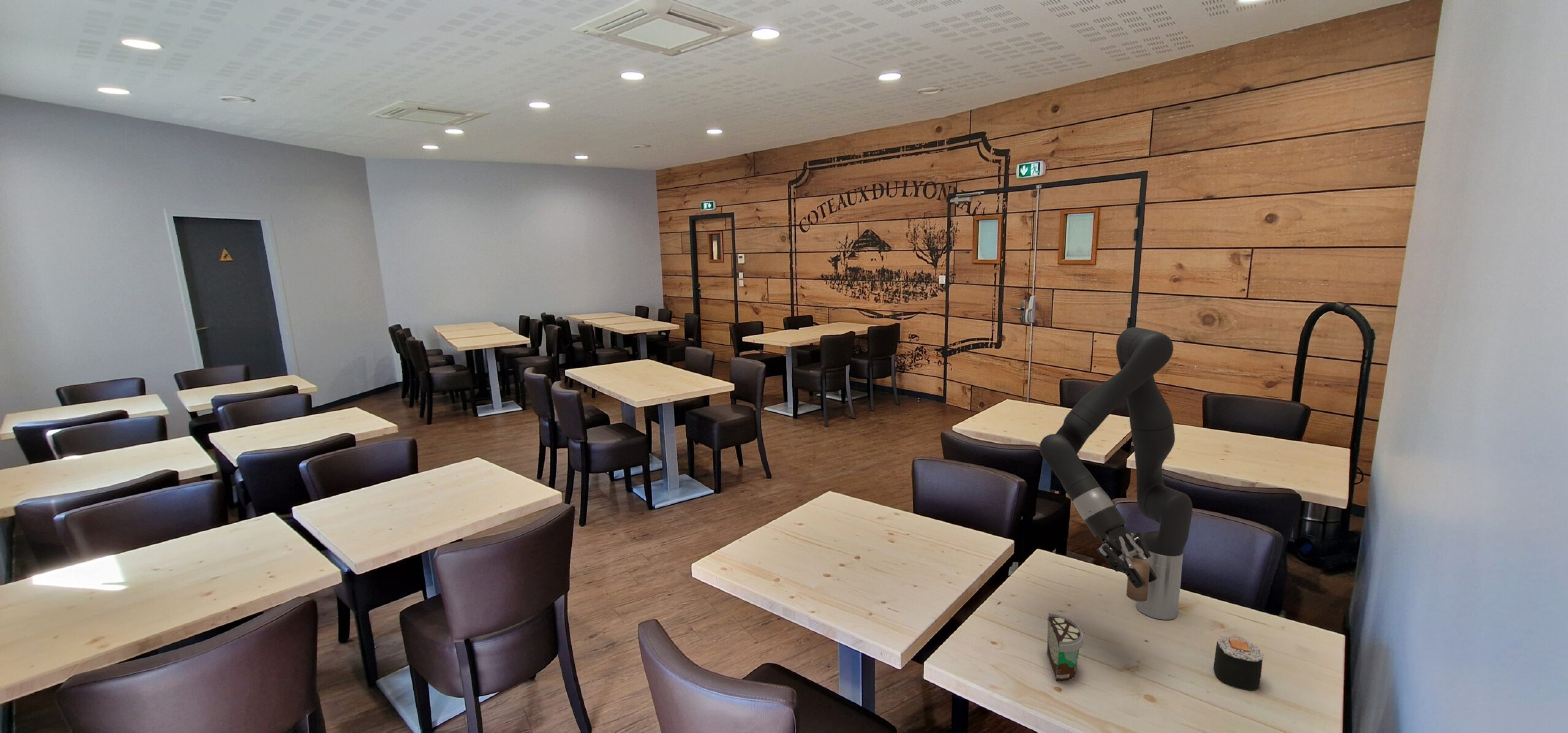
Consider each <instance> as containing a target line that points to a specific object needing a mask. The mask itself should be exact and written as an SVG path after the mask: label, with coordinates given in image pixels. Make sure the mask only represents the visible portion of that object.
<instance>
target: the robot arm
mask: <svg viewBox="0 0 1568 733" xmlns="http://www.w3.org/2000/svg"><path fill="white" fill-rule="evenodd" d="M1115 351H1116V352H1115V353H1116V358H1117V361H1118V365H1119V368H1120V370H1119V371H1118V372H1117V373H1115V374H1114V375H1113V376H1112V377H1111V378H1109V379H1107V380H1106V381H1105V382H1103V383H1101V384H1100V385H1098V386H1096V387H1095V388H1093V389H1091V390H1089V392H1087V393H1086V394H1085V395H1083V397H1080V399H1079V401H1078V402H1077V403H1076V404H1075V405H1074V406H1073V407H1072V409H1071V410H1070V411H1069V412H1068V413H1067V415H1066V416H1065V418H1064V419H1063V424H1062V425H1061V426H1060V428H1058V430H1057V432H1055V433H1049V434H1047V435H1046V436H1044V437H1043V438H1041V439H1042V440H1041V441H1040V444H1039V453H1040V455H1041V457H1042V458H1043V460H1044V461H1045V462H1046V464H1047V465H1048V467H1049V468H1050V469H1051V471H1052V472H1053V473H1054V474H1055V476H1056V477H1057V479H1059V480H1058V481H1059V482H1060V484H1061V485H1062V487H1063V489H1064V491H1065V492H1066V494H1067V495H1068V497H1069V498H1070V500H1071V501H1072V503H1073V504H1074V506H1075V509H1076V511H1077V512H1078V514H1079V516H1080V517H1081V518H1082V520H1083V521H1084V523H1085V524H1086V526H1087V528H1088V529H1089V530H1090V532H1091V533H1092V535H1093V537H1094V538H1099V539H1100V541H1101V546H1100V547H1099V548H1096V553H1097V554H1098V555H1099V556H1100V557H1101V558H1102V559H1103V560H1104V561H1105V563H1107V564H1108V565H1109V566H1110V567H1111V568H1112V569H1113V570H1114V571H1115V572H1117V573H1118V572H1122V573H1124V574H1125V576H1126V577H1127V579H1128V578H1129V580H1130V581H1131V583H1132V584H1133V585H1134V586H1135V587H1136V588H1139V587H1141V586H1143V585H1145V583H1144V581H1143V580H1142V578H1141V577H1140V575H1139V574H1138V572H1137V571H1136V569H1135V568H1133V565H1132V563H1131V561H1130V559H1142V560H1145V561H1147V562H1148V563H1149V564H1150V571H1149V583H1148V595H1147V600H1146V601H1143V602H1139V601H1135V607H1136V608H1137V610H1138V611H1139V612H1140V613H1142V614H1144V615H1145V616H1148V617H1150V618H1153V619H1156V620H1157V619H1158V620H1165V621H1166V620H1167V621H1168V620H1174V619H1176V618H1177V616H1178V611H1179V603H1180V602H1179V601H1180V593H1181V584H1182V571H1183V570H1182V569H1183V558H1184V550H1185V546H1186V544H1187V543H1188V540H1189V533H1190V528H1191V523H1192V517H1193V502H1192V500H1191V498H1190V496H1189V495H1188V494H1187V493H1184V492H1183V491H1179V490H1176V489H1174V488H1171V487H1169V486H1167V485H1165V482H1164V477H1163V465H1164V462H1165V460H1166V459H1167V457H1168V456H1169V454H1170V453H1171V451H1172V450H1173V447H1174V446H1175V442H1176V434H1175V427H1174V426H1175V425H1174V419H1173V418H1174V417H1173V414H1172V411H1171V409H1170V407H1169V405H1168V403H1167V401H1166V399H1165V398H1164V396H1163V395H1162V393H1161V390H1160V389H1159V387H1158V385H1157V383H1156V380H1155V377H1154V375H1155V374H1157V373H1158V372H1159V371H1160V370H1161V369H1162V368H1164V366H1166V364H1167V363H1169V361H1170V360H1171V357H1172V356H1173V352H1174V344H1173V341H1172V339H1171V338H1170V336H1168V335H1166V334H1165V333H1163V332H1160V331H1155V330H1152V329H1147V328H1142V327H1135V326H1134V327H1133V326H1132V327H1128V328H1126V329H1125V330H1123V331H1122V332H1121V333H1120V334H1119V335H1118V338H1117V341H1116V345H1115ZM1124 400H1126V403H1127V404H1126V405H1127V410H1128V416H1129V417H1128V418H1129V424H1130V425H1129V426H1130V433H1131V438H1132V443H1133V444H1132V445H1133V450H1134V462H1135V469H1136V470H1135V473H1136V474H1135V475H1136V477H1135V478H1136V502H1137V507H1138V509H1139V511H1140V513H1141V514H1142V515H1143V516H1145V517H1146V518H1148V519H1149V520H1152V521H1154V522H1156V523H1158V524H1159V529H1158V530H1151V531H1150V530H1149V531H1146V532H1144V533H1143V534H1142V533H1141V532H1140V531H1136V532H1133V533H1132V532H1131V531H1130V530H1128V529H1127V528H1126V527H1125V524H1126V523H1127V521H1126V520H1125V518H1124V517H1123V515H1122V514H1121V512H1120V511H1119V509H1118V508H1117V506H1116V505H1115V503H1114V502H1113V501H1112V499H1111V498H1110V496H1109V495H1108V493H1106V491H1105V490H1104V489H1103V488H1102V487H1101V486H1100V484H1099V483H1098V481H1097V480H1096V478H1095V477H1094V475H1092V473H1091V472H1090V471H1089V470H1088V469H1087V467H1086V466H1085V464H1084V463H1083V462H1082V460H1081V459H1080V456H1079V455H1078V454H1079V452H1080V451H1081V449H1082V447H1083V446H1084V444H1086V441H1087V440H1088V439H1089V438H1090V436H1091V435H1092V434H1093V433H1094V432H1096V430H1097V429H1098V428H1099V427H1100V426H1101V424H1103V422H1104V421H1105V420H1106V418H1108V416H1109V415H1110V414H1111V413H1112V412H1113V411H1114V410H1115V409H1116V408H1117V407H1118V406H1119V405H1120V404H1121V403H1122V402H1123V401H1124Z"/></svg>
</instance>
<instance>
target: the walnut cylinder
mask: <svg viewBox="0 0 1568 733" xmlns="http://www.w3.org/2000/svg"><path fill="white" fill-rule="evenodd" d="M1130 561H1131V563H1132V565H1133V568H1135V569H1136V571H1137V572H1138V574H1139V575H1140V577H1141V578H1142V580H1143V581H1144V583H1145V585H1143V586H1141V587H1139V588H1136V587H1135V586H1134V585H1133V584H1132V583H1131V581H1130V580H1129V578H1128V577H1127V580H1126V593H1125V594H1126V597H1127V598H1129V599H1130V600H1133V601H1134V602H1136V601H1139V602H1143V601H1146V600H1147V595H1148V583H1149V571H1150V564H1149V563H1148V562H1147V561H1145V560H1142V559H1131V558H1130Z"/></svg>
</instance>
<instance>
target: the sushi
mask: <svg viewBox="0 0 1568 733" xmlns="http://www.w3.org/2000/svg"><path fill="white" fill-rule="evenodd" d="M1264 657H1265V656H1264V653H1262V652H1261V648H1258V645H1256V644H1255V645H1254V644H1253V642H1252V641H1250V640H1248V639H1245V638H1242V637H1238V638H1237V637H1236V636H1235V637H1233V636H1229V635H1228V636H1227V637H1226V636H1223V635H1222V636H1221V637H1220V639H1218V641H1216V646H1215V653H1214V660H1213V672H1214V676H1215V678H1216V679H1217V680H1218V681H1220V682H1221V683H1222V684H1225V685H1226V686H1229V687H1233V688H1236V689H1241V690H1246V691H1250V692H1251V691H1258V689H1259V687H1260V682H1261V677H1262V670H1263V660H1264Z"/></svg>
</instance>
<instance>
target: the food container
mask: <svg viewBox="0 0 1568 733" xmlns="http://www.w3.org/2000/svg"><path fill="white" fill-rule="evenodd" d="M1046 642H1047V645H1046V655H1047V656H1046V657H1047V659H1048V662H1049V665H1050V668H1052V669H1051V671H1053V672H1052V674H1053V677H1054V680H1055V682H1068V681H1070V680H1073V679H1072V678H1075V676H1076V673H1077V666H1078V659H1079V654H1080V649H1081V648H1082V647H1083V646H1084V644H1085V638H1084V633H1083V631H1082V630H1081V627H1080V626H1079V625H1078V624H1077V623H1076V622H1075V621H1073V620H1072V619H1070V618H1068V617H1066V616H1063V615H1060V614H1057V613H1051V612H1048V614H1047V641H1046Z"/></svg>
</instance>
